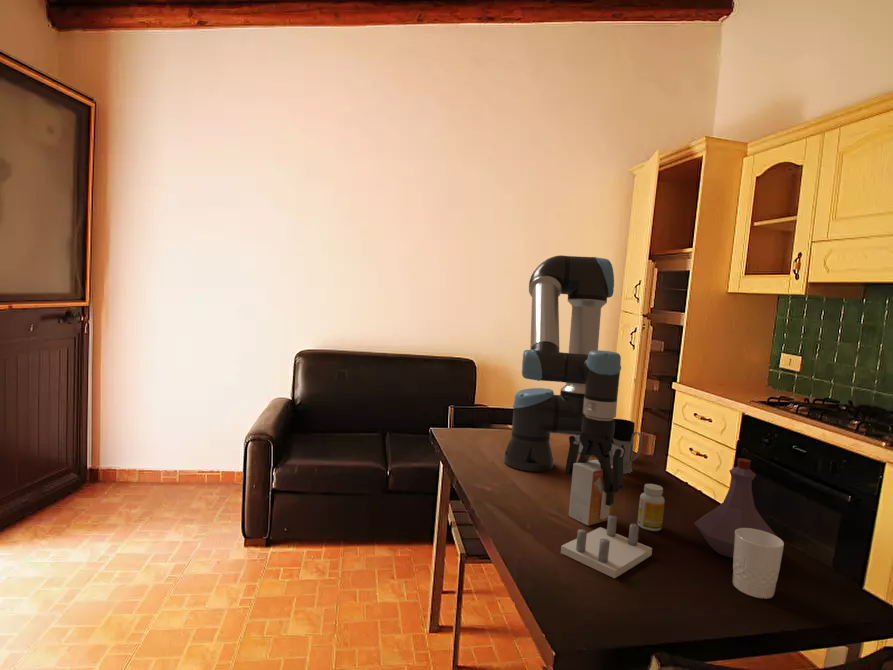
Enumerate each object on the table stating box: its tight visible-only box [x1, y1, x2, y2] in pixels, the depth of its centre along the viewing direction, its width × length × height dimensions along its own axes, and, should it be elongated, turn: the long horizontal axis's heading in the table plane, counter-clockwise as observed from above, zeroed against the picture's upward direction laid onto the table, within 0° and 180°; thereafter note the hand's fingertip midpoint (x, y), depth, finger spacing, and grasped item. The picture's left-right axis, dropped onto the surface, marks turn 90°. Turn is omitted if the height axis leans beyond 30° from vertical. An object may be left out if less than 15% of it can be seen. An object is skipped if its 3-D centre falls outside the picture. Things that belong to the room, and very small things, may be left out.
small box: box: [568, 459, 613, 526], centre depth 127 cm, size 8×6×13 cm
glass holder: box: [609, 418, 644, 475], centre depth 163 cm, size 9×14×15 cm, turn 18°
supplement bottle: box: [637, 483, 666, 532], centre depth 124 cm, size 5×5×10 cm
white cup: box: [732, 528, 785, 600], centre depth 99 cm, size 8×8×10 cm
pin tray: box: [560, 514, 653, 579], centre depth 109 cm, size 12×15×6 cm
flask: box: [694, 457, 777, 559], centre depth 114 cm, size 16×16×20 cm
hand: (590, 511), depth 127 cm, fingers closed on small box, 7 cm apart
